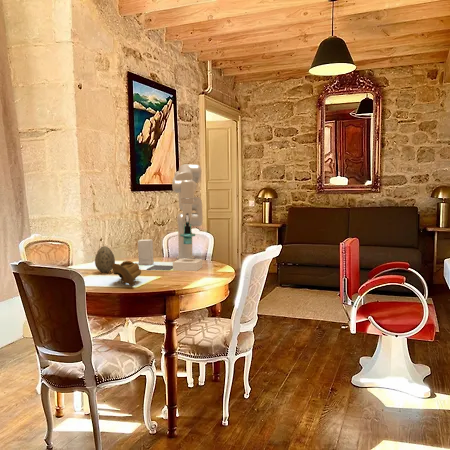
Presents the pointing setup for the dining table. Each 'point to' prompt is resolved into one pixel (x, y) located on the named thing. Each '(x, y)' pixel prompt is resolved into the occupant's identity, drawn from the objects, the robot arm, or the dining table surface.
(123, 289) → the dining table surface
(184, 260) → the housing
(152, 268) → the mat
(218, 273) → the dining table surface
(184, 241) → the end cover
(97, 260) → the decorative egg
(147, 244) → the skincare box
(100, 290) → the dining table surface
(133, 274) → the brown looped sculpture
